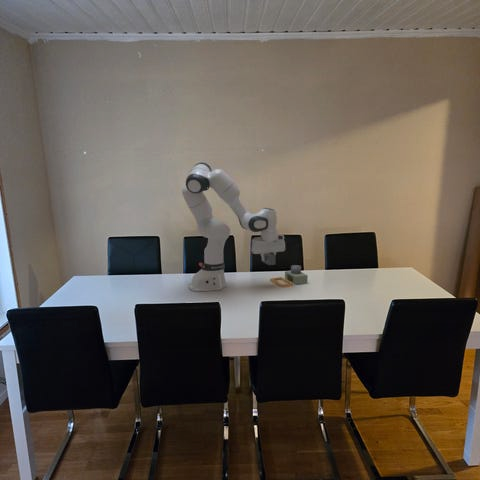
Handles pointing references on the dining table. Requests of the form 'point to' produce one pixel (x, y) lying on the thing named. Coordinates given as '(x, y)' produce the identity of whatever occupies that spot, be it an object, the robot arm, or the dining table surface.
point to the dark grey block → (269, 259)
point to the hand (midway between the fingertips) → (268, 260)
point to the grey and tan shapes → (291, 277)
